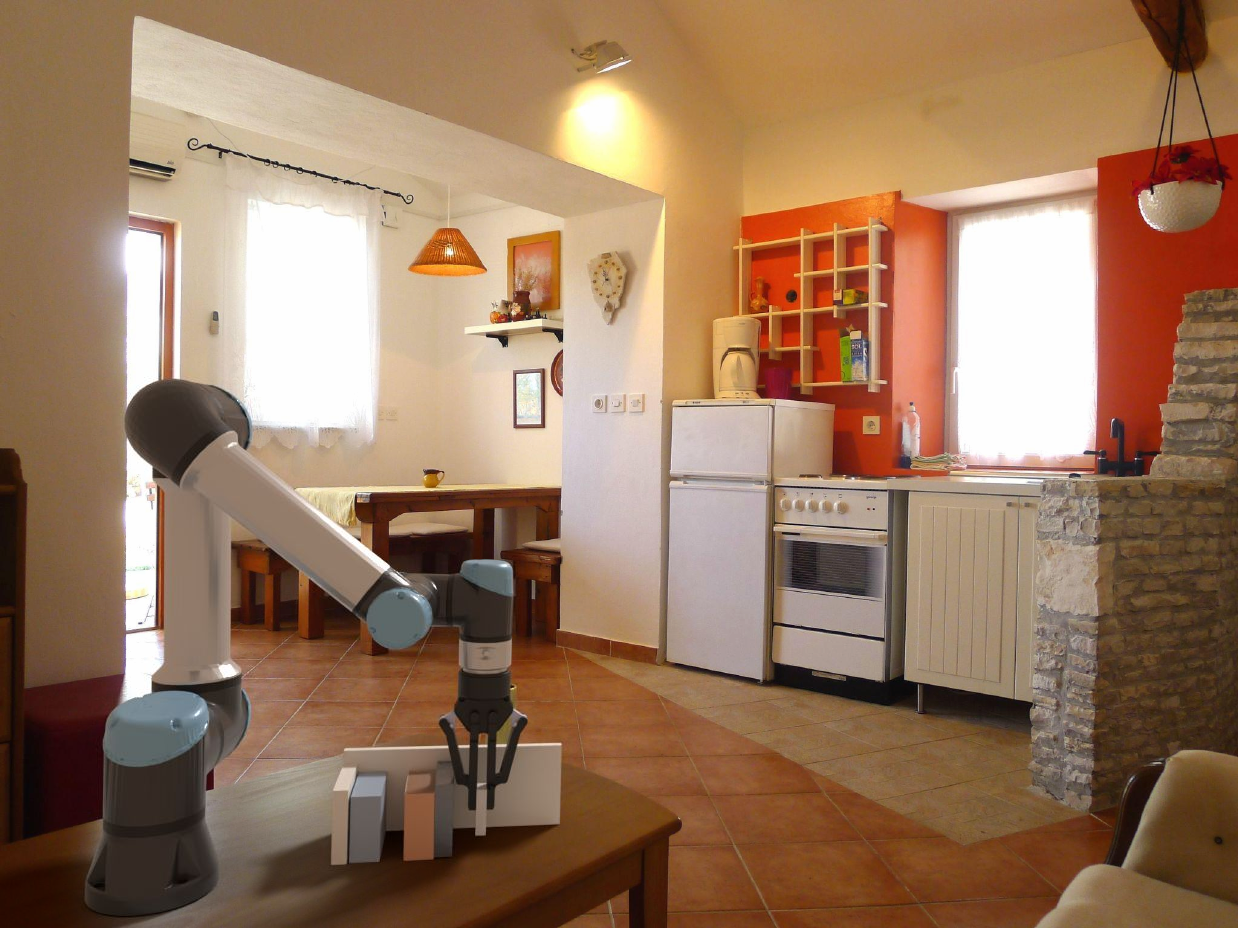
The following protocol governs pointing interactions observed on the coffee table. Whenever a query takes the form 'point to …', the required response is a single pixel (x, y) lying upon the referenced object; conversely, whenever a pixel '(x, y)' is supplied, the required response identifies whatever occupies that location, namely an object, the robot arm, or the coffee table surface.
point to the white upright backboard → (516, 801)
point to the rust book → (419, 815)
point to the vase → (506, 728)
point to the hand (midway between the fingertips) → (480, 831)
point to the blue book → (368, 817)
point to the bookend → (443, 809)
